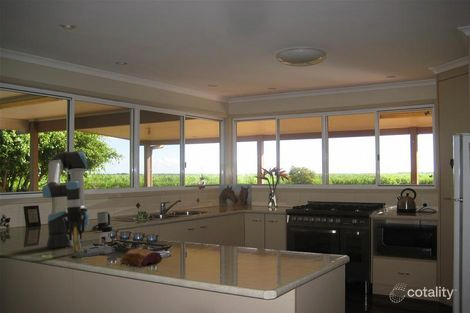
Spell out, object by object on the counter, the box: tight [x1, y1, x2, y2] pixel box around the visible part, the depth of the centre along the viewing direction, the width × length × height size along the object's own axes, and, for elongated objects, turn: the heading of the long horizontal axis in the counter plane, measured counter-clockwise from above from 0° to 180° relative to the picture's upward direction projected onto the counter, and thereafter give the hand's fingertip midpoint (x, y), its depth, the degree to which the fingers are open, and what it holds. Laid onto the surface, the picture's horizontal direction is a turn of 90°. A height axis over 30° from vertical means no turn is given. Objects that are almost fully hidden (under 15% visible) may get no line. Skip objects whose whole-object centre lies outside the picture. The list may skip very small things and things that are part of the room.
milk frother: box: [91, 211, 111, 231], centre depth 386 cm, size 14×16×15 cm
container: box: [98, 225, 117, 245], centre depth 296 cm, size 8×8×13 cm
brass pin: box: [72, 227, 80, 252], centre depth 276 cm, size 3×3×16 cm
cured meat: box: [121, 248, 163, 268], centre depth 240 cm, size 18×25×7 cm
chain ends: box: [72, 245, 116, 259], centre depth 269 cm, size 10×22×4 cm, turn 121°
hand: (75, 244), depth 276 cm, fingers closed on brass pin, 3 cm apart
